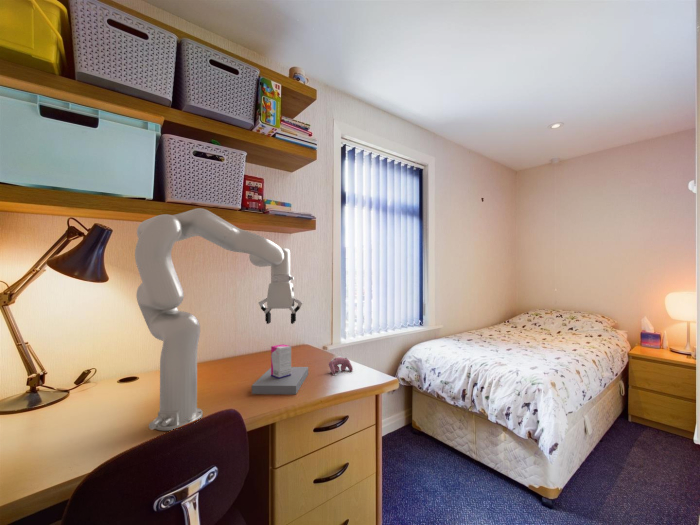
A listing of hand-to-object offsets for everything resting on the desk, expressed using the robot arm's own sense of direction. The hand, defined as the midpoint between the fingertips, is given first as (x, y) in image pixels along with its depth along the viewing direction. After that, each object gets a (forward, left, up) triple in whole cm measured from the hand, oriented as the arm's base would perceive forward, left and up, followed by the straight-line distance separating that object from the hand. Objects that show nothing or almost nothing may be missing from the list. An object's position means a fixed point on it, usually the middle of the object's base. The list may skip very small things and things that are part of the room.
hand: (280, 323), depth 119 cm
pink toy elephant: (+15, -22, -24) cm, 36 cm away
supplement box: (0, 0, -21) cm, 21 cm away
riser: (0, -1, -23) cm, 23 cm away
